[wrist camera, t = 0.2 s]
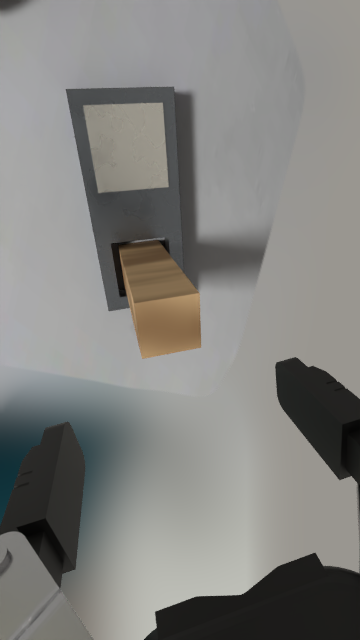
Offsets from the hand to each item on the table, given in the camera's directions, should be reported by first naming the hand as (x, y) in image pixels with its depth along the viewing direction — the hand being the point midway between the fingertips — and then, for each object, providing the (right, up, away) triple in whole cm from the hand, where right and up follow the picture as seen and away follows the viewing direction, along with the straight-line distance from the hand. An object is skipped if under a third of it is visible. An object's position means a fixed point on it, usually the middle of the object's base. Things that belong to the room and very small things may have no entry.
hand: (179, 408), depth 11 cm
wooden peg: (-4, +9, +19) cm, 22 cm away
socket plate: (-4, +14, +17) cm, 22 cm away
